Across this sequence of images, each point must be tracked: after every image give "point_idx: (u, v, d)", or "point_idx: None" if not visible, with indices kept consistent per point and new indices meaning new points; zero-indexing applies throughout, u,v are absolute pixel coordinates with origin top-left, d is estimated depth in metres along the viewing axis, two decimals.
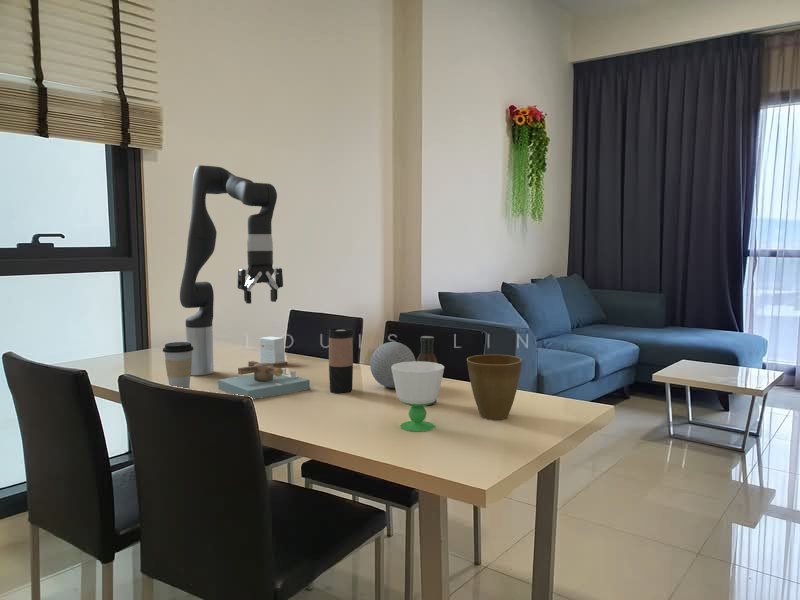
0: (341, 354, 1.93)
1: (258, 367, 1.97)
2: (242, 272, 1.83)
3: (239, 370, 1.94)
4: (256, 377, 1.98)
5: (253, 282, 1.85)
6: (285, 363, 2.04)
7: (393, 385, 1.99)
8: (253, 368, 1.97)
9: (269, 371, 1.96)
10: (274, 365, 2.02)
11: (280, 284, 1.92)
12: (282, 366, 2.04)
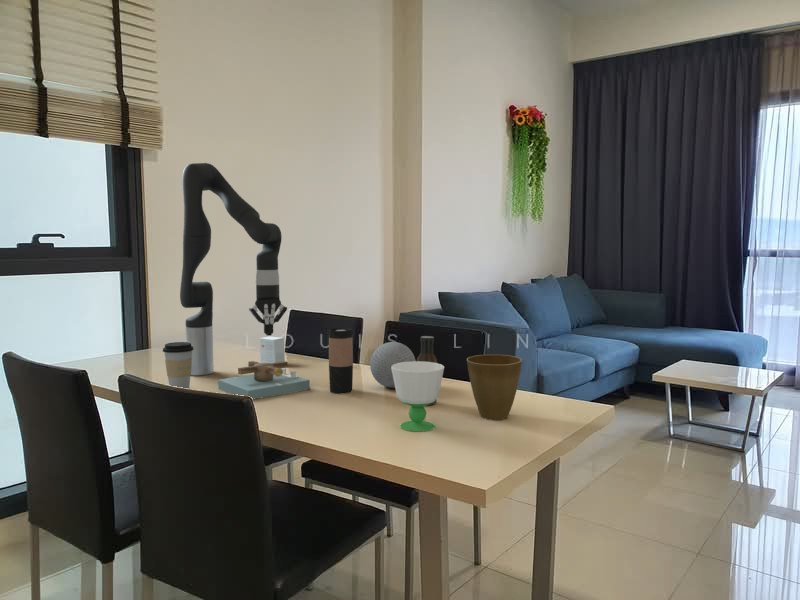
0: (341, 354, 1.93)
1: (258, 367, 1.97)
2: None
3: (239, 370, 1.94)
4: (256, 377, 1.98)
5: None
6: (285, 363, 2.04)
7: (393, 385, 1.99)
8: (253, 368, 1.97)
9: (269, 371, 1.96)
10: (274, 365, 2.02)
11: None
12: (282, 366, 2.04)
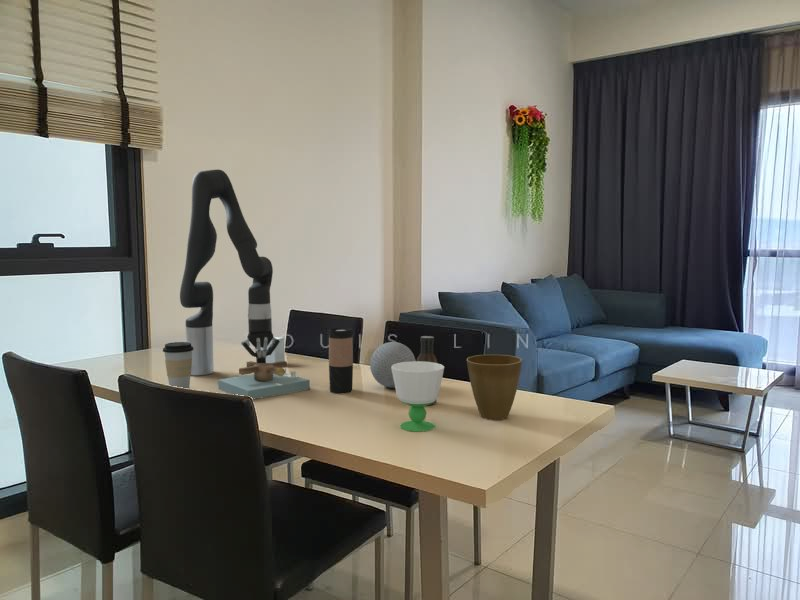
0: (341, 354, 1.93)
1: (259, 367, 1.97)
2: None
3: (240, 370, 1.94)
4: (257, 377, 1.98)
5: None
6: (284, 363, 2.05)
7: (393, 385, 1.99)
8: (254, 368, 1.96)
9: (270, 371, 1.96)
10: (274, 365, 2.02)
11: None
12: (281, 365, 2.04)
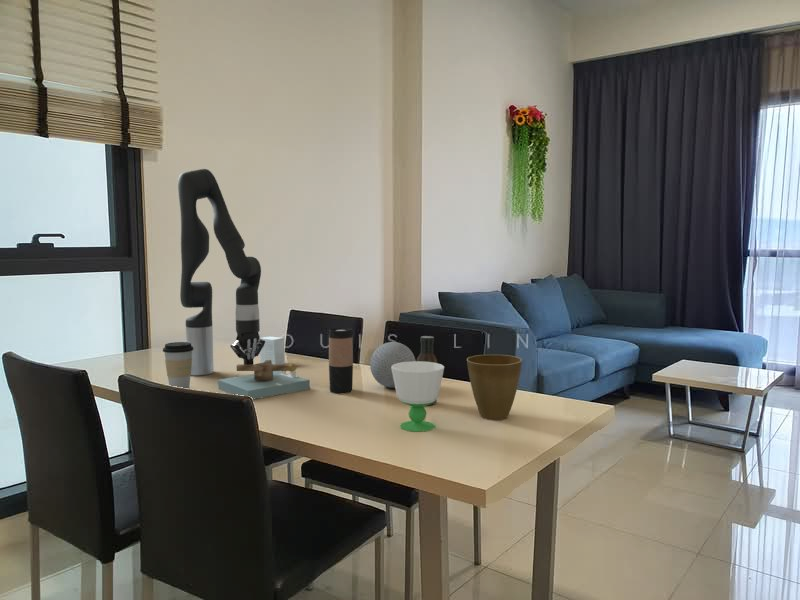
0: (341, 354, 1.93)
1: (266, 367, 1.97)
2: None
3: (257, 372, 1.92)
4: (263, 377, 1.97)
5: None
6: None
7: (393, 385, 1.99)
8: (263, 368, 1.96)
9: (279, 369, 1.99)
10: None
11: None
12: None
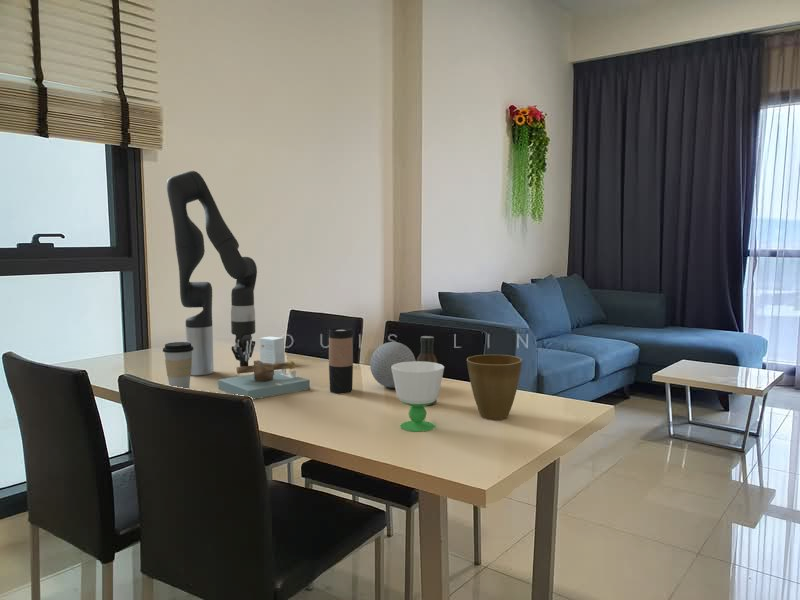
0: (341, 354, 1.93)
1: (270, 366, 1.98)
2: None
3: (271, 371, 1.93)
4: (267, 377, 1.98)
5: None
6: None
7: (393, 385, 1.99)
8: None
9: (280, 367, 2.02)
10: None
11: None
12: None
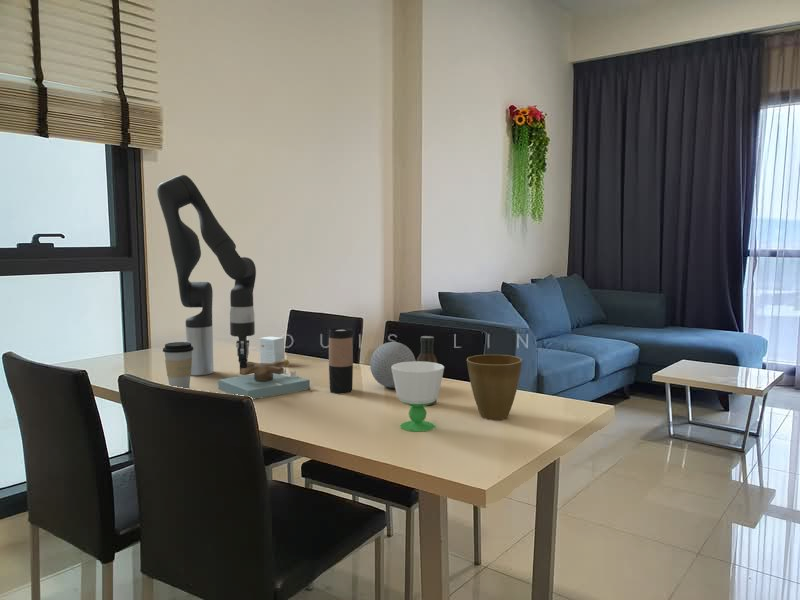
0: (341, 354, 1.93)
1: (272, 366, 1.99)
2: None
3: (281, 370, 1.95)
4: (271, 376, 1.99)
5: None
6: None
7: (393, 385, 1.99)
8: None
9: (278, 366, 2.04)
10: None
11: None
12: None
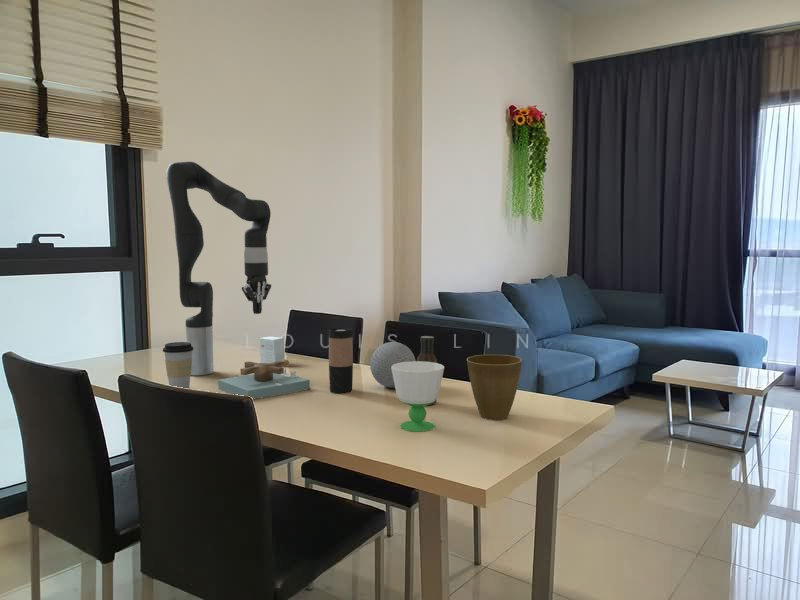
0: (341, 354, 1.93)
1: (272, 366, 1.99)
2: None
3: (281, 370, 1.95)
4: (271, 376, 1.99)
5: None
6: None
7: (393, 385, 1.99)
8: None
9: (278, 366, 2.04)
10: None
11: None
12: None
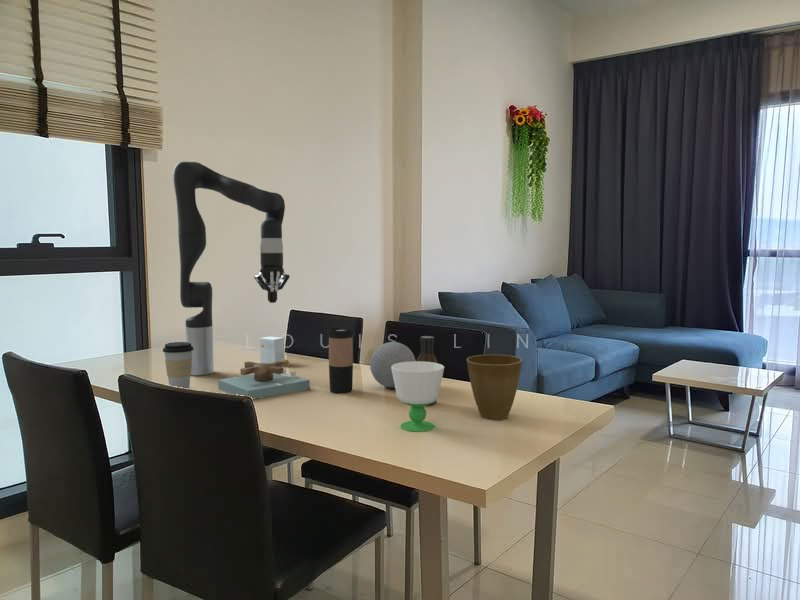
0: (341, 354, 1.93)
1: (272, 366, 1.99)
2: None
3: (281, 370, 1.95)
4: (271, 376, 1.99)
5: None
6: None
7: (393, 385, 1.99)
8: None
9: (278, 366, 2.04)
10: None
11: None
12: None
